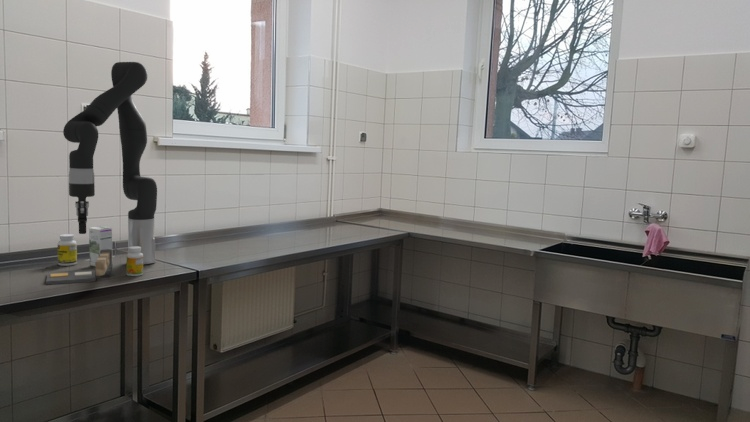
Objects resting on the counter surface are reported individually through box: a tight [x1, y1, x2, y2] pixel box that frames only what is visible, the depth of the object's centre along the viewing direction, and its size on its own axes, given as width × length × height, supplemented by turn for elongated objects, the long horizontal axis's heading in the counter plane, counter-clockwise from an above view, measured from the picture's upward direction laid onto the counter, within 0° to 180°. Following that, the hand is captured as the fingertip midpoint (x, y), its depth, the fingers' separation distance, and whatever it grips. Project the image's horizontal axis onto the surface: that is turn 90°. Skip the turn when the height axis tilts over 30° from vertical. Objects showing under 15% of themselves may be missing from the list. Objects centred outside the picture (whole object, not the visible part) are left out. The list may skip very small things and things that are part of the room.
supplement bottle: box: [126, 246, 144, 277], centre depth 190 cm, size 5×5×10 cm
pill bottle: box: [57, 233, 78, 267], centre depth 201 cm, size 6×6×11 cm
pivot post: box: [99, 264, 114, 278], centre depth 187 cm, size 4×4×4 cm
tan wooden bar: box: [95, 249, 113, 277], centre depth 179 cm, size 21×4×5 cm, turn 21°
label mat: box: [45, 268, 96, 285], centre depth 182 cm, size 14×14×1 cm
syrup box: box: [88, 225, 114, 268], centre depth 201 cm, size 6×6×14 cm
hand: (82, 233), depth 183 cm, fingers closed
